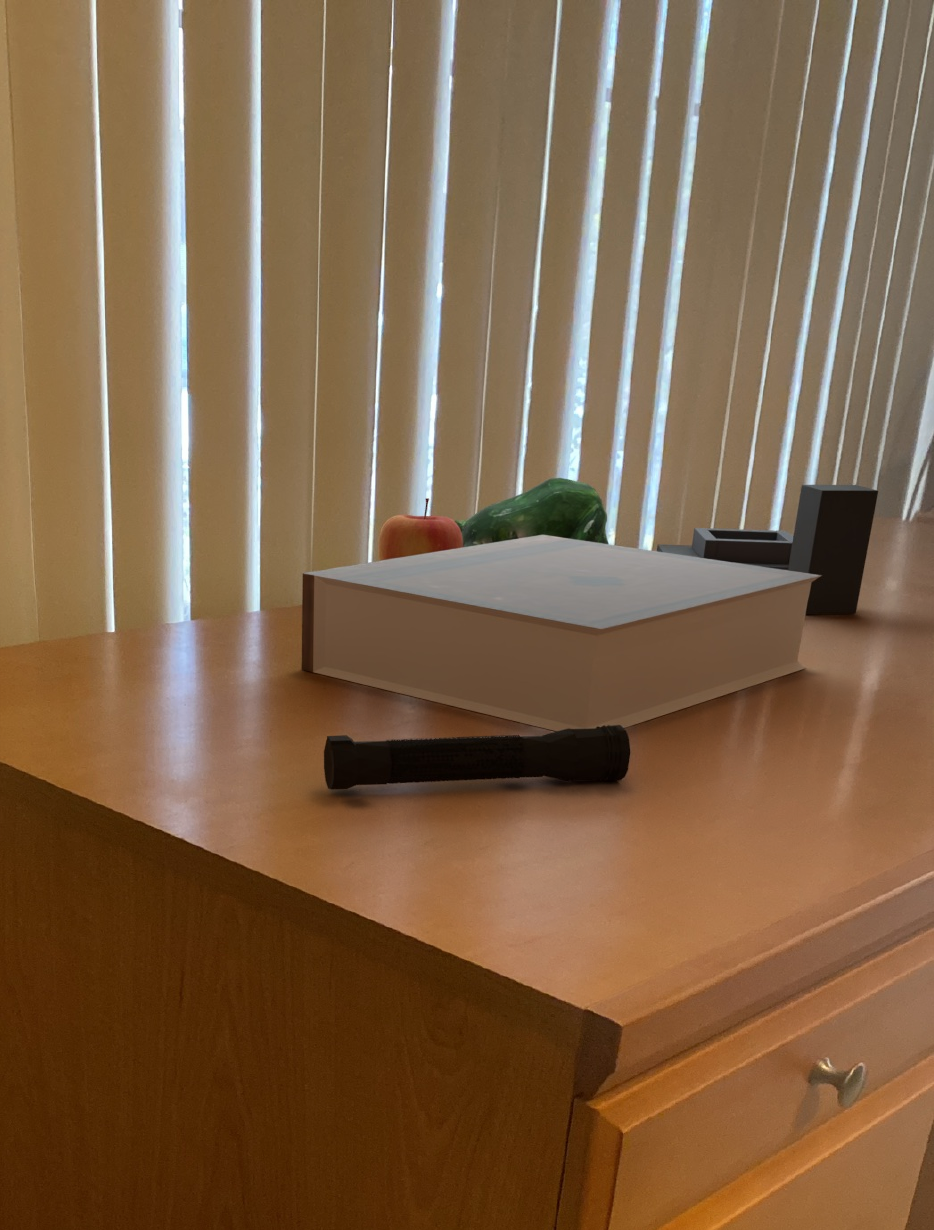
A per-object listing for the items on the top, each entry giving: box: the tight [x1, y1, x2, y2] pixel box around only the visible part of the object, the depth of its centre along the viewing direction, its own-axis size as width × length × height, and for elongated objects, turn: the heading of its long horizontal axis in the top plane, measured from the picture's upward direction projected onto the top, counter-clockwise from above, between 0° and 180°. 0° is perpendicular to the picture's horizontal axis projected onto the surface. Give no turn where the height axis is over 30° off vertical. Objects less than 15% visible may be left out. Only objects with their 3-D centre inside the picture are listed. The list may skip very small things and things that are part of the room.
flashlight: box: [323, 725, 632, 790], centre depth 79 cm, size 3×16×3 cm, turn 102°
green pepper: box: [453, 477, 610, 547], centre depth 136 cm, size 14×9×15 cm
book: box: [301, 535, 822, 732], centre depth 103 cm, size 24×28×6 cm
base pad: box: [656, 527, 794, 570], centre depth 146 cm, size 16×12×3 cm
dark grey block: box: [788, 484, 879, 615], centre depth 124 cm, size 5×4×10 cm
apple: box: [377, 497, 463, 561], centre depth 126 cm, size 7×7×8 cm
